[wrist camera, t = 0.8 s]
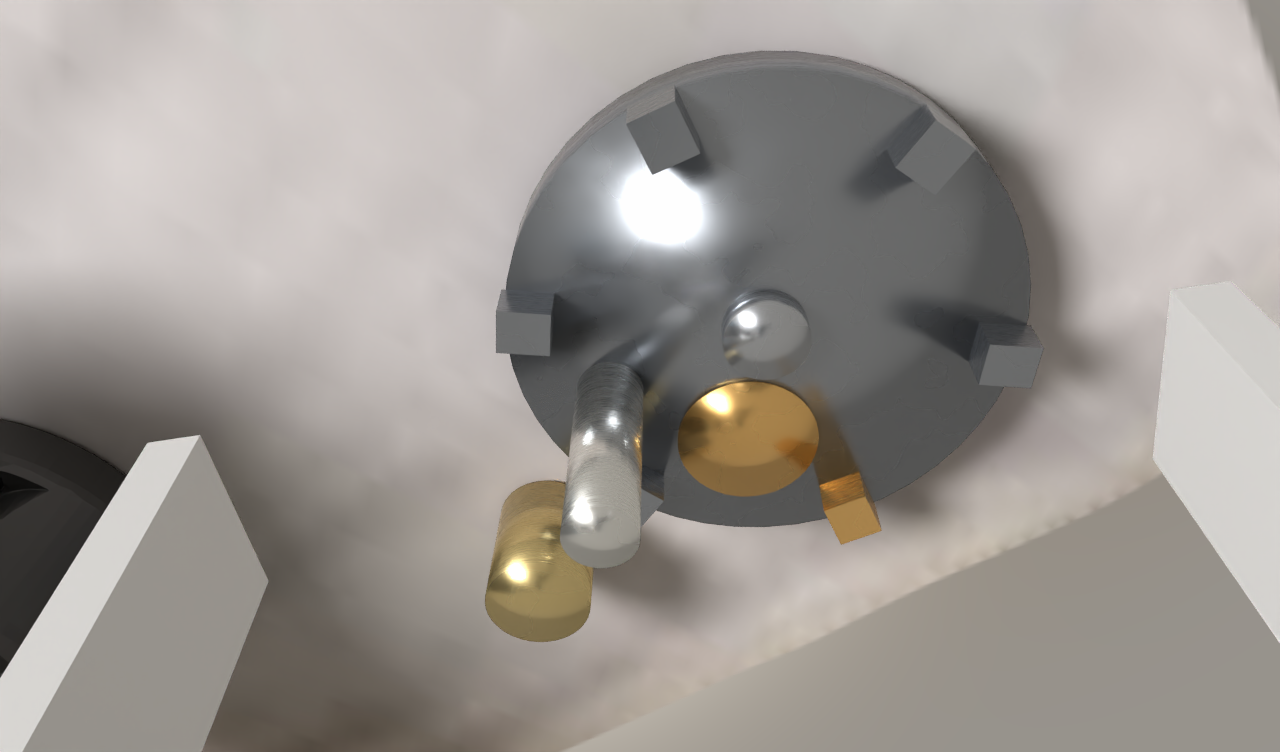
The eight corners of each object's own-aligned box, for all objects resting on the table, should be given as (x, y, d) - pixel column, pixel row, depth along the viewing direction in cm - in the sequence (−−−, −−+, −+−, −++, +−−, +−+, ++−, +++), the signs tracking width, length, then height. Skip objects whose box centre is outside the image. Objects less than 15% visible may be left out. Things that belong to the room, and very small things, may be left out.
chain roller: (530, 566, 47) (517, 653, 43) (483, 500, 45) (465, 585, 41) (613, 535, 46) (608, 622, 42) (568, 467, 44) (559, 551, 40)
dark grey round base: (645, 551, 46) (643, 747, 38) (413, 188, 37) (342, 338, 29) (1071, 399, 42) (1175, 583, 33) (920, -54, 33) (1010, 41, 24)
